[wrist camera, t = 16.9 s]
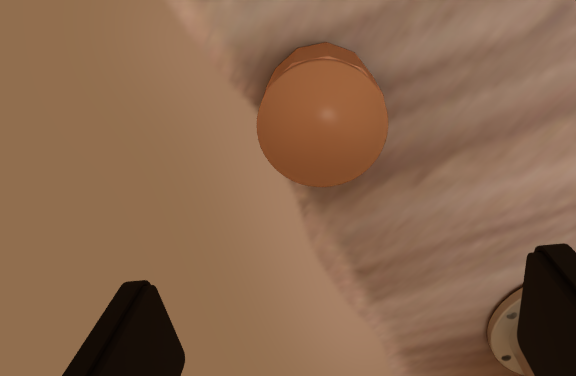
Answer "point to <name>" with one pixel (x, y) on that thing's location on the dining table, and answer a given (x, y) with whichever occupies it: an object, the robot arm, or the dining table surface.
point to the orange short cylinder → (322, 117)
